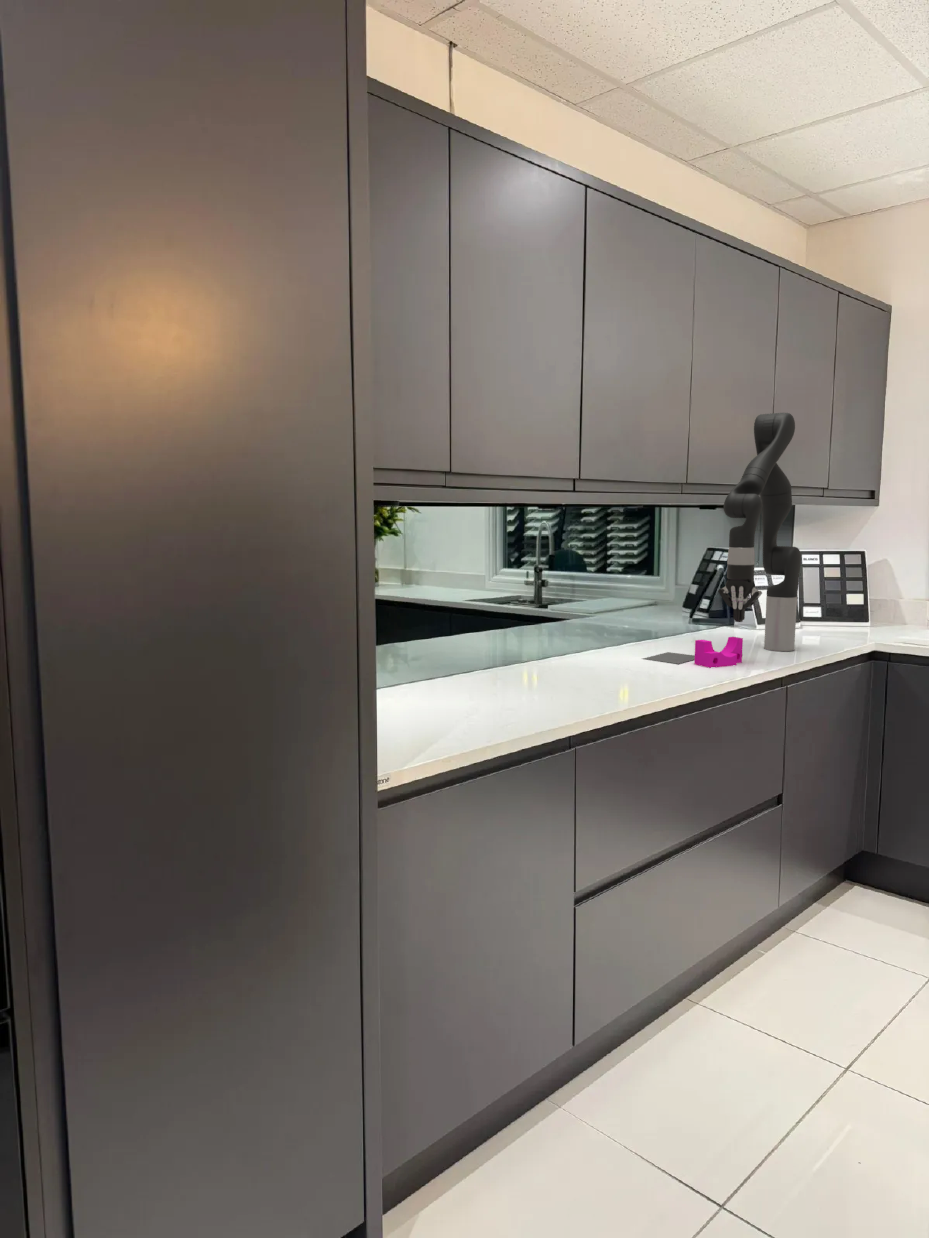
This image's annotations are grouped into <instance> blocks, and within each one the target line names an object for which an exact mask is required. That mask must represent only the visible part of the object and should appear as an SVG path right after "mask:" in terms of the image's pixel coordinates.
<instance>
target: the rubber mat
mask: <svg viewBox="0 0 929 1238" xmlns="http://www.w3.org/2000/svg"><path fill="white" fill-rule="evenodd" d="M642 660H646V661H653V662H659V663H666V664H672V665H682V664H686V663H689V662H690V663H691V662H694V661H695V654H694V655H693V654H685V653H677V652H668V651H667V652H662V653H659V654H656V655H651V656H647V657H643V658H642Z"/></svg>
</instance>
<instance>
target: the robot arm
mask: <svg viewBox="0 0 929 1238" xmlns="http://www.w3.org/2000/svg"><path fill="white" fill-rule="evenodd" d="M795 431H796V421H795V418H794V416H793V414H792V413H790V412H789V413H788V412H776V413H775V412H774V413H763V414H762V413H760V414H758V415H757V416H756V417H755V420H754V425H753V437H754V442H755V443H754V444H755V450H756V455H755V457H753V459H751V460H750V461H749V463H748V464H747V466H746V467H745V469H744V472H743V474H742V476H741V479H740V481H739V482H738V483H737V484H736V485H735V486H734V487H733V488H732V489H731V490H730V492H729V493H728V494H727V496H726V497H725V500H724V502H723V511H724V514H725V515H726V516H727V517H728V518H729V519H745V520H744V523H742V524H741V525H737V526H734V527H732V528H730V530H729V534H728V535H729V539H728V552H727V559H726V562H727V565H726V566H727V568H726V583H725V584H724V585H725V586H724V587H722V588H719V589H718V590H717V591H718V594H719V595H720V597H721V598H722V600H723V601H724V602H725V604H726V606H727V607H730V608H732V609H733V616H732V617H733V621H734V622H735V623H742V622H743V621H744V620H745V617H746V613H745V612H746V609H747V608H752V606H753V605H754V604H755V603H756V602H757V600H758V599H759V598H760V597H761V595H762V594H763V591H761V590H758V589H757V588H756V584H755V582H754V579H755V561H756V558H755V557H756V555H755V536H756V529H757V527H758V522H759V520H760V517H761V520H762V567H763V570H764V572H765V573H766V574H768V575H774V576H775V575H776V576H784V578H783V580H782V581H781V582H779V583H777V584H774V585H773V584H772V585H770V586H768V587H767V589H766V598H765V599H766V601H765V602H766V603H765V623H764V641H763V642H764V643H763V645H764V646H763V649H765V650H767V651H773V652H774V651H775V652H793V651H795V646H796V645H795V642H796V640H795V639H796V624H797V623H796V622H797V603H798V602H797V601H798V591H799V583H800V575H801V574H800V572H801V563H802V555H801V554H802V553H801V550H800V548H799V547H796V546H787V545H786V546H783V545H778V543H777V542H778V541H777V539H778V533H779V531H780V528H781V526H782V524H783V523H784V521H785V520H786V518H787V517H788V515H789V513H790V512H791V509H792V506H793V495H792V484H791V481H790V479H788V477H787V475H786V474H785V472H784V471H783V470H782V468H781V467H780V466H779V464H778V463H777V462H778V461H779V460H780V458H781V457H782V455H783V454H784V452H785V451H786V449H787V448H788V446H789V445H790V444H791V442H792V439H793V438H794V434H795ZM750 594H751V596H750ZM749 596H750V598H748V597H749Z"/></svg>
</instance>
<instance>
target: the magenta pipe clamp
mask: <svg viewBox="0 0 929 1238" xmlns="http://www.w3.org/2000/svg"><path fill="white" fill-rule="evenodd" d="M694 641H695V642H694V655H695V660H694V661H693V662H694V665H696V666H700V667H705V668H708V667H709V668H708V669H712V668H711V667H715V668H722V667H725V668H726V667H734V666H733V665H735V666H737V664H740V663H741V664H742V663H743V646H744V645H743V644H744V643H743V642H744V637H743V638H742V637H738V636H737V637H736V636H728V637H727V642H726V644H725V646H724V648H723V649H721V650H720V651H715V649H714V646H713V643H712V641H711V640H706V639H695V640H694Z"/></svg>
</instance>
